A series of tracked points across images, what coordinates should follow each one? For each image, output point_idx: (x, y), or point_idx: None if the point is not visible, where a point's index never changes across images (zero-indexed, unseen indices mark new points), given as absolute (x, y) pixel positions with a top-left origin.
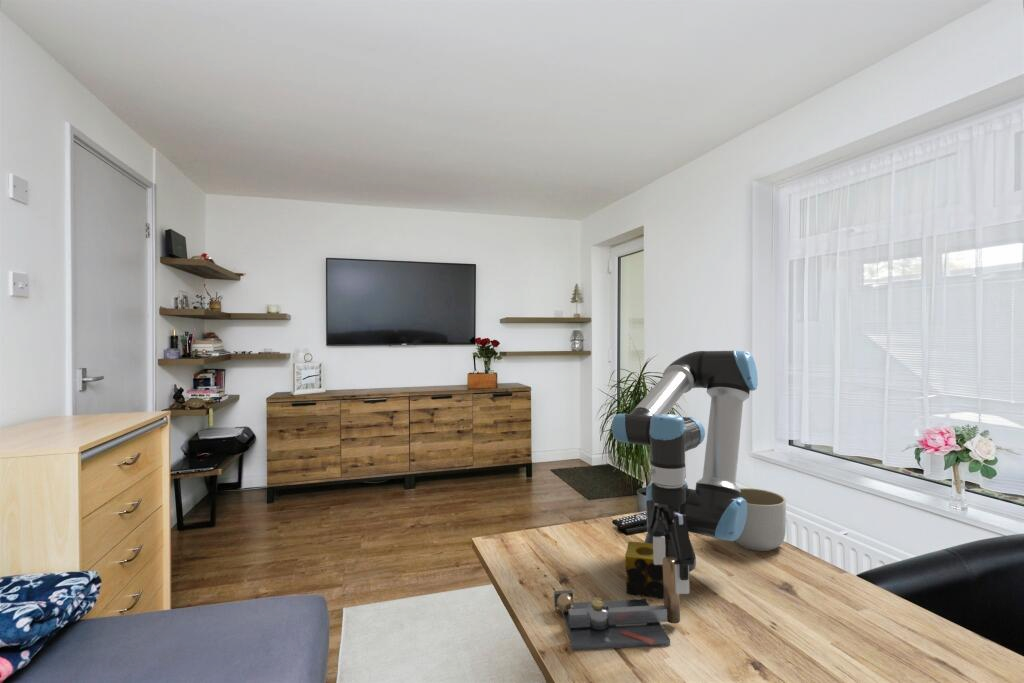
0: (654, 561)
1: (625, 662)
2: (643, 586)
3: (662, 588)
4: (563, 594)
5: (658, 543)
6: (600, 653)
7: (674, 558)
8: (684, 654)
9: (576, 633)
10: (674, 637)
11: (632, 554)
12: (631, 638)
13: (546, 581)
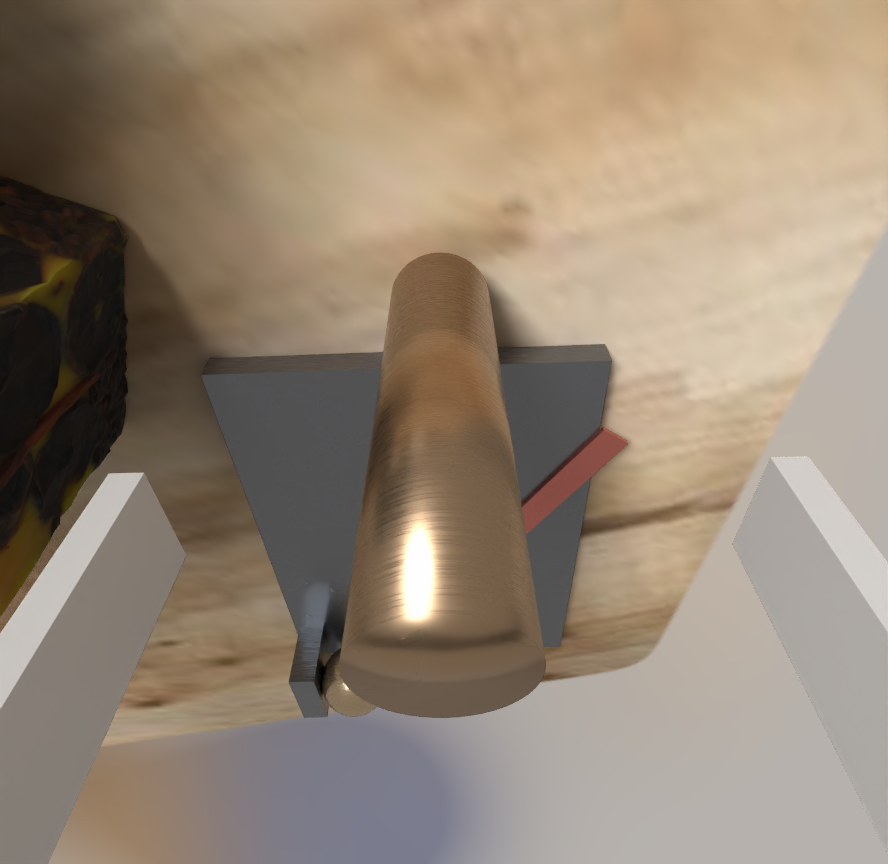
0: (171, 581)
1: (659, 521)
2: (96, 385)
3: (88, 275)
4: (350, 714)
5: (46, 768)
6: (588, 574)
7: (394, 634)
8: (693, 299)
9: None
10: (545, 302)
11: None
12: (563, 504)
13: None
